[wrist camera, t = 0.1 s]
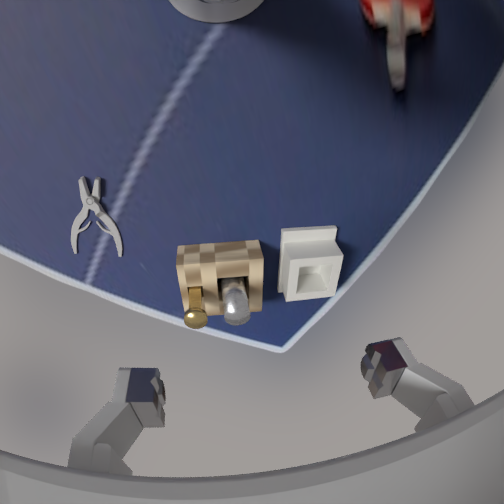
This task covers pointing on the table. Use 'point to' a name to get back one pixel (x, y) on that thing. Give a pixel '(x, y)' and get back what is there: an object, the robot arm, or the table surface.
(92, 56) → the table surface
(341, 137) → the table surface
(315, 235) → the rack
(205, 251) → the socket block
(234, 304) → the grey rounded cylinder
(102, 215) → the pliers
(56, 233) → the table surface
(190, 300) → the key
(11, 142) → the table surface
